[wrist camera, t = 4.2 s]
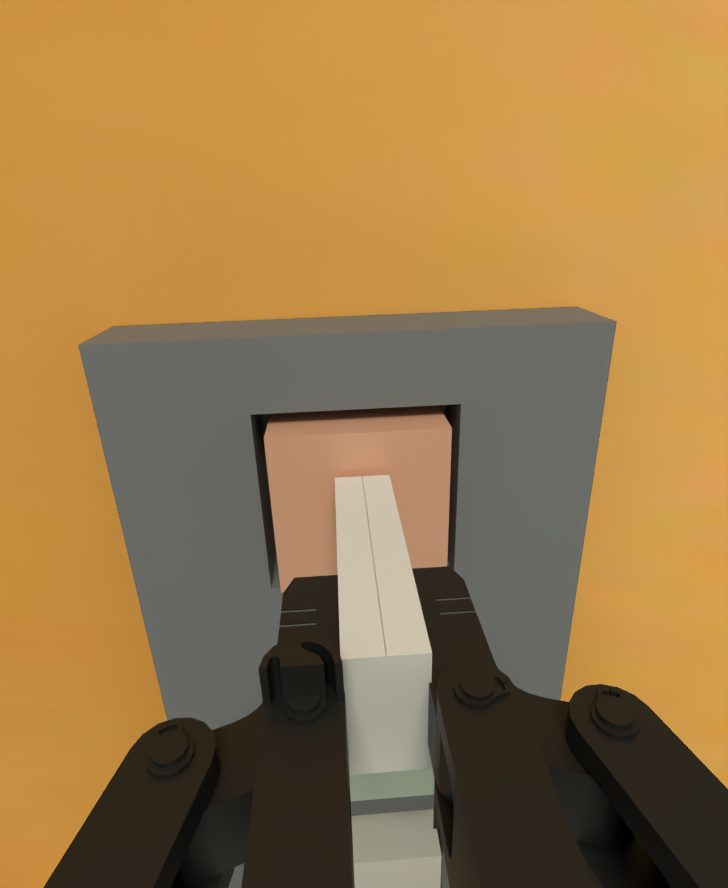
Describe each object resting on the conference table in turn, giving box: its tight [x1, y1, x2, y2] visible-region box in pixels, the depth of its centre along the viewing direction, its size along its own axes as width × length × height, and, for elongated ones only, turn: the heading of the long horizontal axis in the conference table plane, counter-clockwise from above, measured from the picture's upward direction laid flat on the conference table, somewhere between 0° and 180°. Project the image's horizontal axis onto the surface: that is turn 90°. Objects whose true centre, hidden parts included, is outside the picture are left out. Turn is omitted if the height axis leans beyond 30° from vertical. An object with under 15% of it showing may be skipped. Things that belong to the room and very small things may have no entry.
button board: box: [78, 307, 617, 888], centre depth 21 cm, size 14×27×2 cm, turn 2°
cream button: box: [352, 809, 442, 888], centre depth 22 cm, size 5×5×2 cm
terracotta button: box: [264, 405, 452, 593], centre depth 16 cm, size 5×5×2 cm
